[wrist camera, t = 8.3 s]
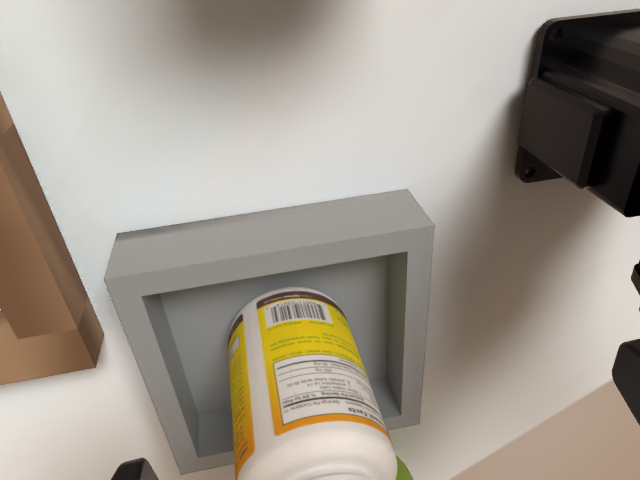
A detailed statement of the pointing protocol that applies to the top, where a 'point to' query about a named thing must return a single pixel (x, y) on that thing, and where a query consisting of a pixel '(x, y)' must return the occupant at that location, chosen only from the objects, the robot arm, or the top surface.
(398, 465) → the snail figurine
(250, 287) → the parts tray
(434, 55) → the top surface
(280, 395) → the supplement bottle
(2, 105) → the wooden rectangular frame
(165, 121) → the top surface
